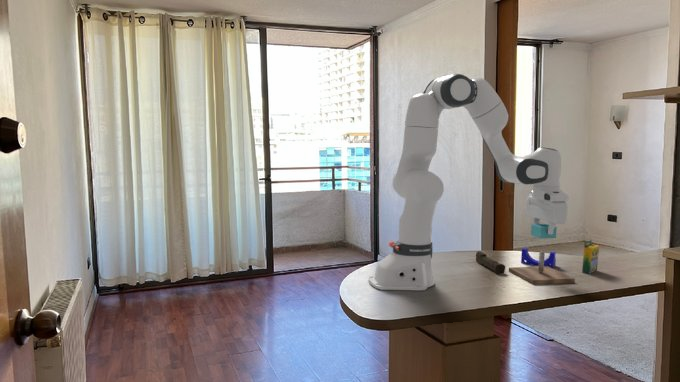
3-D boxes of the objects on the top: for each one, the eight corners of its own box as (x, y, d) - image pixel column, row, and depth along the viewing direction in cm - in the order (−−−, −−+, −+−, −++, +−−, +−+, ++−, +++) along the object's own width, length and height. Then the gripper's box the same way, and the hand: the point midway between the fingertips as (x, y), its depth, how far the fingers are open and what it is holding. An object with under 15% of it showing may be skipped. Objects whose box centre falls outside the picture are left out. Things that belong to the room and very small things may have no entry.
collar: (540, 238, 172) (541, 227, 171) (530, 235, 178) (531, 224, 177) (555, 238, 173) (556, 226, 172) (545, 234, 179) (546, 223, 178)
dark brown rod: (505, 274, 180) (506, 262, 180) (495, 274, 180) (496, 262, 179) (482, 261, 199) (483, 250, 198) (473, 261, 198) (474, 250, 198)
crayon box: (590, 274, 181) (592, 243, 180) (581, 272, 184) (583, 242, 182) (597, 270, 186) (599, 240, 185) (589, 269, 188) (591, 239, 187)
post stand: (532, 284, 168) (534, 257, 167) (508, 271, 183) (510, 246, 182) (574, 282, 170) (576, 256, 169) (547, 270, 186) (549, 245, 185)
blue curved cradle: (555, 266, 193) (556, 251, 192) (553, 268, 189) (554, 253, 188) (523, 261, 199) (524, 247, 199) (521, 263, 196) (521, 249, 195)
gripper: (521, 190, 183) (519, 226, 185) (554, 197, 163) (552, 238, 165) (537, 190, 184) (534, 226, 186) (572, 197, 164) (569, 237, 166)
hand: (543, 231), depth 175 cm, fingers closed on collar, 6 cm apart
